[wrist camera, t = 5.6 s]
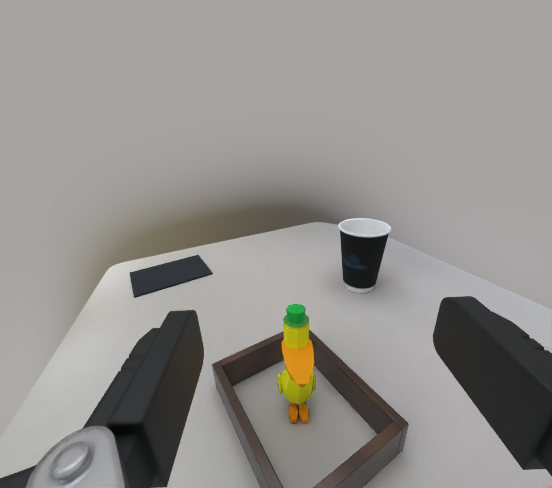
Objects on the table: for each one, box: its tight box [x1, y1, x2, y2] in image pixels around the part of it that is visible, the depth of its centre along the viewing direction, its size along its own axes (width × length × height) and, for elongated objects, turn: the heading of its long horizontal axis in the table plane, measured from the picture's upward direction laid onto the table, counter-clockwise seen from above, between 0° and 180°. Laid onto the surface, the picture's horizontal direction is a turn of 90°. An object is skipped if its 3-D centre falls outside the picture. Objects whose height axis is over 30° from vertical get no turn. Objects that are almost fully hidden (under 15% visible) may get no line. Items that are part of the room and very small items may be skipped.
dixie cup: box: [338, 218, 391, 293], centre depth 44 cm, size 8×8×11 cm
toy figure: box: [278, 304, 316, 423], centre depth 24 cm, size 7×4×12 cm, turn 2°
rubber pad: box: [130, 255, 212, 297], centre depth 53 cm, size 14×10×1 cm
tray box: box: [212, 330, 409, 488], centre depth 25 cm, size 12×15×4 cm
